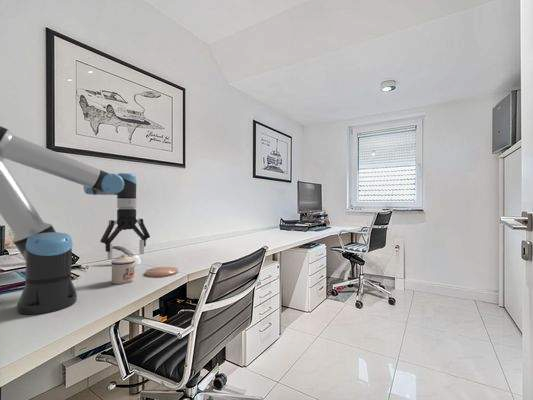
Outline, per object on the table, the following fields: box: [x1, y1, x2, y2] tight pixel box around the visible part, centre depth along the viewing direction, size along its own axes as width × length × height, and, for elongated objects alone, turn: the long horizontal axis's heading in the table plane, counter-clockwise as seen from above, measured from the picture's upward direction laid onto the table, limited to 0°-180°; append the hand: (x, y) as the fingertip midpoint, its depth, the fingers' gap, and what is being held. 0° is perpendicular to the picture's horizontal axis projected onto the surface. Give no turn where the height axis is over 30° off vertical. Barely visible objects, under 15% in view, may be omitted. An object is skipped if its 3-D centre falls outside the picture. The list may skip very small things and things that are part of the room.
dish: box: [144, 266, 179, 278], centre depth 129 cm, size 15×15×1 cm
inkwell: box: [112, 245, 142, 266], centre depth 147 cm, size 9×18×10 cm, turn 95°
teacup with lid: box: [111, 253, 136, 285], centre depth 116 cm, size 12×9×12 cm
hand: (126, 256), depth 117 cm, fingers open, 13 cm apart
